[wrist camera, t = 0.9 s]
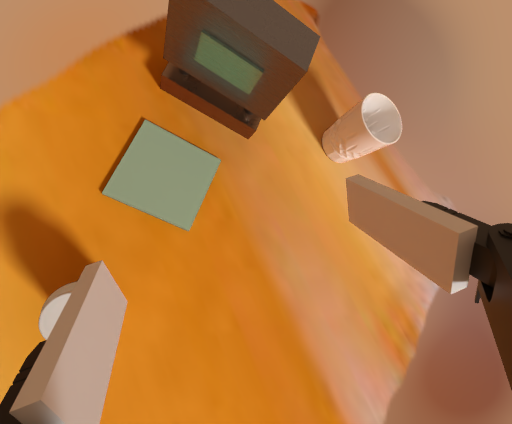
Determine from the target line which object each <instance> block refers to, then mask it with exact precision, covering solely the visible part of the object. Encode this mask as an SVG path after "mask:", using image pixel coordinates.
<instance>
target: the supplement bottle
mask: <svg viewBox="0 0 512 424" xmlns="http://www.w3.org/2000/svg"><path fill="white" fill-rule="evenodd" d="M77 282H78V281H77ZM77 282H73V283H69V284H67V285H64V286H62V287H61V288H59V289H57V290H56V291H55V292H54V293H52V294H51V295H50V296H49V298H48V299H47V300H46V302H45V303H44V305H43V307H42V310H41V314H40V318H39V330H40V332H41V334H42V336H43V337H44V338H45V339H46V340H47V339H48V337H49V335H50V333H51V331H52V329H53V327H54V325H55V324H56V322H57V320H58V318H59V316H60V314H61V312H62V310H63V308H64V306H65V304H66V303H67V301H68V299H69V297H70V295H71V293H72V291H73V289H74V287H75V285H76V283H77Z"/></svg>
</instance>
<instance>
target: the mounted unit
mask: <svg viewBox="0 0 512 424" xmlns="http://www.w3.org/2000/svg"><path fill="white" fill-rule="evenodd" d="M319 38H320V36H319V35H317V34H316V33H315V32H313V31H312V30H311V29H310V28H308V27H307V26H306V25H304V24H303V23H302V22H300V21H299V20H298V19H297V18H295V17H294V16H293V15H291V14H290V13H289V12H288V11H286V10H285V9H284V8H282V7H281V6H280V5H278V4H277V3H276V2H275V1H273V0H169V6H168V16H167V26H166V36H165V46H164V55H163V58H164V59H165V60H167V61H168V62H169V63H168V65H167V66H166V68H165V70H164V71H163V73H162V75H161V85H160V89H162V90H164V91H166V92H167V93H169V94H171V95H173V96H174V97H176V98H178V99H179V100H181V101H183V102H185V103H186V104H188V105H190V106H192V107H193V108H195V109H197V110H198V111H200V112H202V113H204V114H205V115H207V116H209V117H211V118H212V119H214V120H216V121H218V122H219V123H221V124H223V125H224V126H226V127H228V128H230V129H231V130H233V131H235V132H237V133H238V134H240V135H242V136H244V137H245V138H247V139H249V138H250V137H251V136H252V135H253V133H254V132H255V131H256V129H257V127H258V125H259V122H260V120H261V119H263V120H266V118H267V117H268V116H269V115H270V114H271V113H272V111H273V110H274V109H275V108H276V107H277V106H278V105H279V103H280V102H281V101H282V100H283V99H284V98H285V96H286V95H287V94H288V93H289V92H290V91H291V89H292V88H293V87H294V86H295V85H296V84H297V82H298V81H299V80H300V79H301V78H302V77H303V76H304V74H305V73H306V72H307V70H308V67H309V65H310V62H311V59H312V57H313V54H314V52H315V49H316V46H317V44H318V41H319Z"/></svg>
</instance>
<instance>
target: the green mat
mask: <svg viewBox="0 0 512 424" xmlns="http://www.w3.org/2000/svg"><path fill="white" fill-rule="evenodd" d="M220 162H221V160H220V159H218V158H216V157H215V156H213V155H211V154H209V153H207V152H205V151H203V150H202V149H200V148H198V147H196V146H194V145H192V144H190V143H188V142H187V141H185V140H183V139H181V138H179V137H177V136H175V135H173V134H172V133H170V132H168V131H166V130H164V129H162V128H160V127H158V126H157V125H155V124H153V123H151V122H149V121H147V120H145V121H144V122H143V124H142V126H141V128H140V129H139V131H138V133H137V134H136V136H135V138H134V139H133V141H132V143H131V144H130V146H129V148H128V149H127V151H126V153H125V155H124V156H123V158H122V160H121V161H120V163H119V165H118V166H117V168H116V170H115V171H114V173H113V175H112V177H111V178H110V180H109V182H108V183H107V185H106V187H105V188H104V190H103V192H102V194H103V195H106V196H108V197H110V198H112V199H115V200H117V201H119V202H122V203H124V204H126V205H129V206H131V207H133V208H136V209H138V210H140V211H143V212H145V213H147V214H149V215H152V216H154V217H156V218H159V219H161V220H163V221H166V222H168V223H170V224H173V225H175V226H177V227H180V228H182V229H184V230H187V231H189V230H190V228H191V226H192V223H193V221H194V219H195V217H196V215H197V212H198V210H199V208H200V206H201V204H202V201H203V199H204V197H205V195H206V193H207V190H208V188H209V186H210V184H211V182H212V179H213V177H214V175H215V173H216V171H217V168H218V166H219V164H220Z"/></svg>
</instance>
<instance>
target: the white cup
mask: <svg viewBox="0 0 512 424" xmlns="http://www.w3.org/2000/svg"><path fill="white" fill-rule="evenodd" d="M401 133H402V120H401V116H400V114H399V112H398V109H397V108H396V106H395V105H394V103H393V102H392V101H391V100H390V99H389V98H387V97H386V96H384V95H382V94H380V93H371V94H369V95H367V96H366V97H365V98H363V99H362V100H361V101H360V102H358V103H357V104H356V105H355V106H354V107H352V108H351V109H350V110H349V111H347V112H346V113H345V114H344V115H342V116H341V117H340V118H339V119H338V120H337V121H336V122H335V123H334V124H333V125H332V126H330V127H329V128H328V129H327V130H326V131H325V132H324V134H323V137H322V145H323V149H324V151H325V153H326V155H327V156H328V157H329V158H330V159H331V160H332V161H334V162H338V163H344V162H347V161H350V160H352V159H356V158H358V157H361V156H364V155H366V154H369V153H371V152H374V151H376V150H378V149H381V148H383V147H385V146H388V145H390V144H393V143H395V142H396V141H397V140H398V139H399V138H400V135H401Z"/></svg>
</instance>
